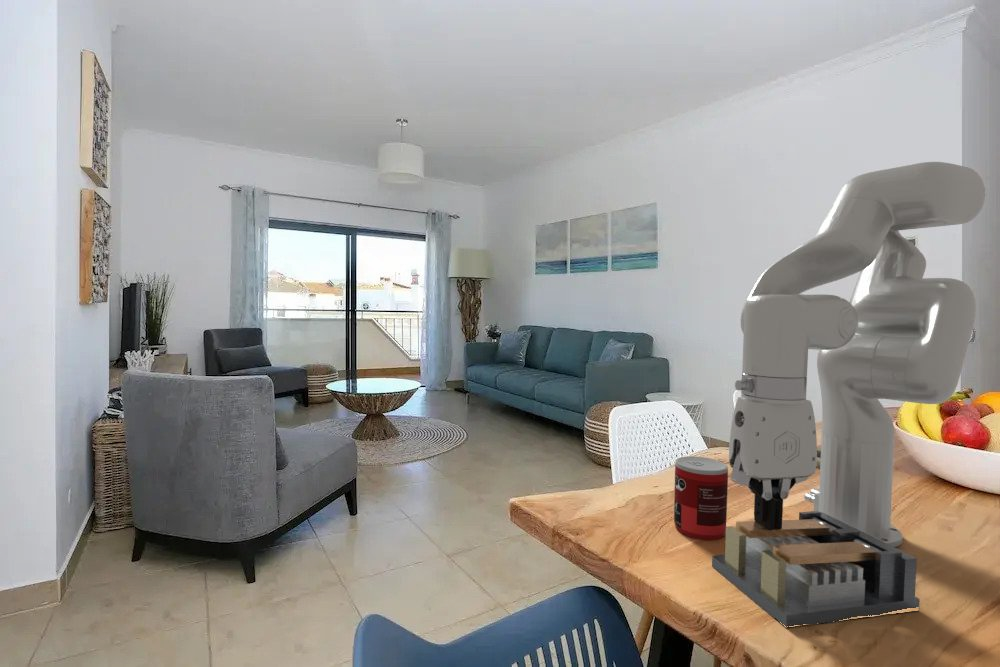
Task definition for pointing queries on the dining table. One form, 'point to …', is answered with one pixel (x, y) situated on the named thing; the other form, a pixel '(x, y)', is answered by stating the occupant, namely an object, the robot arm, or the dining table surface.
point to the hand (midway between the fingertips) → (767, 525)
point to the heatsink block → (818, 577)
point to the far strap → (786, 528)
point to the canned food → (700, 497)
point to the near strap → (826, 552)
